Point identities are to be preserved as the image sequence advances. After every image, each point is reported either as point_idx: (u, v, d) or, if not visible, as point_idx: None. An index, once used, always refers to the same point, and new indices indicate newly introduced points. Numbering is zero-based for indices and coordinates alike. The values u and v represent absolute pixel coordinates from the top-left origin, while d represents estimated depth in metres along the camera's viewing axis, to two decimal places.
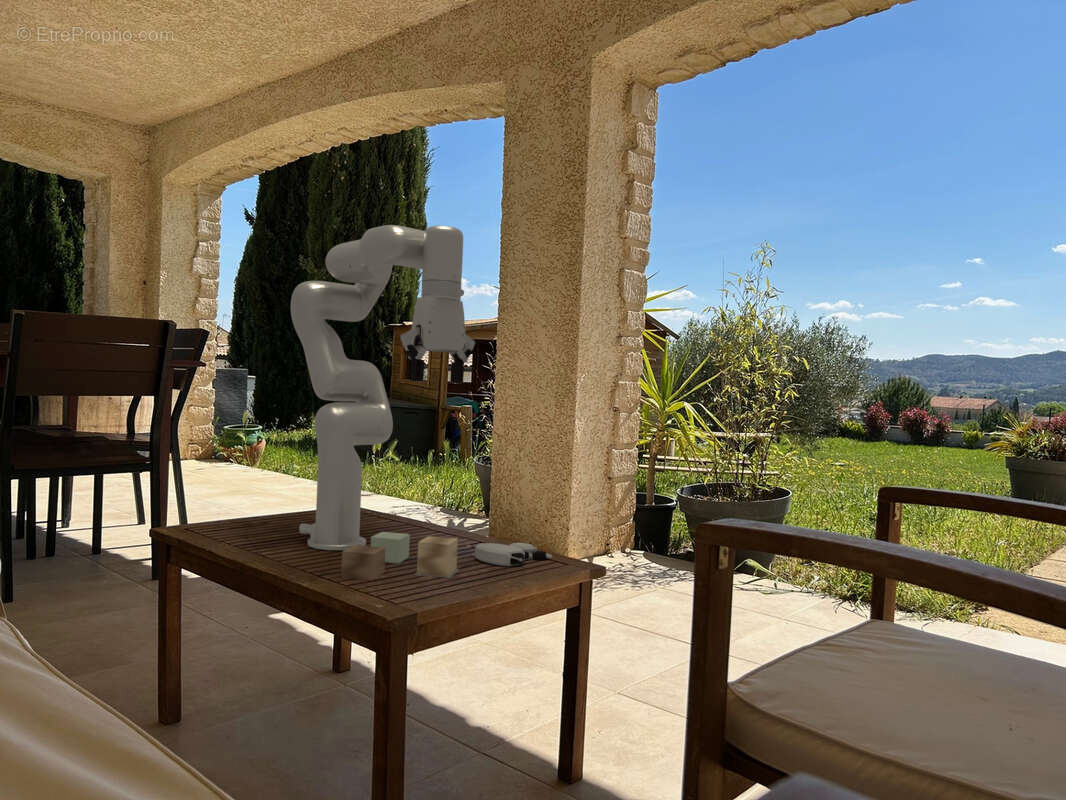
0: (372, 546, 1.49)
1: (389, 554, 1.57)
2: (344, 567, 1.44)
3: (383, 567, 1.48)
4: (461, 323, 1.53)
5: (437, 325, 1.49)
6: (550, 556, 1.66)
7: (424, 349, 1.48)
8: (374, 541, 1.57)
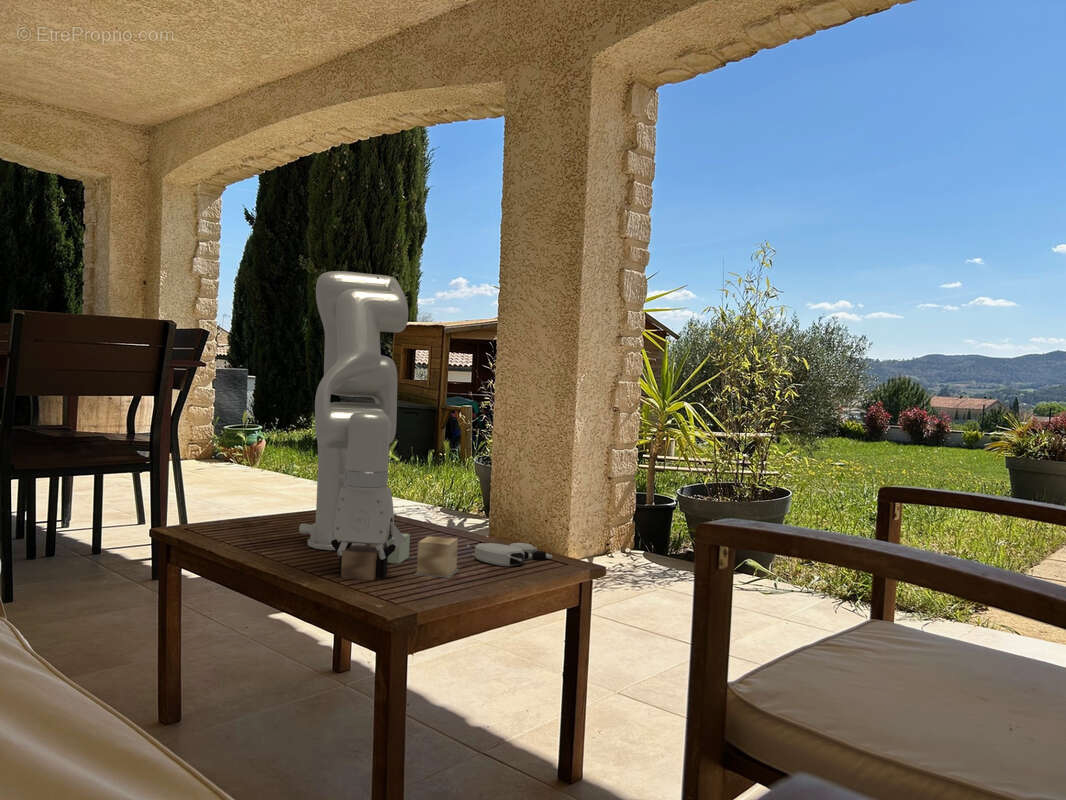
0: (372, 546, 1.49)
1: None
2: (344, 567, 1.44)
3: None
4: None
5: None
6: (550, 556, 1.66)
7: None
8: None
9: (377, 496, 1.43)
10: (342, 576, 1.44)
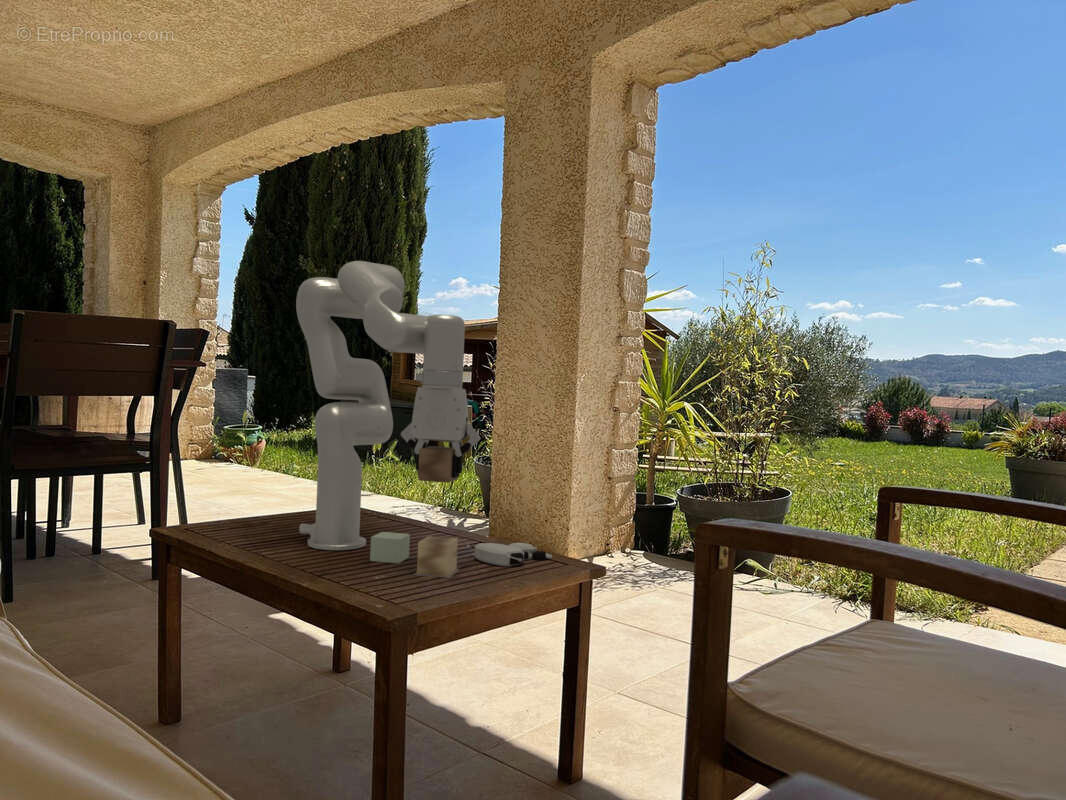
0: (446, 447, 1.53)
1: (389, 554, 1.57)
2: (421, 464, 1.48)
3: None
4: None
5: None
6: (550, 556, 1.66)
7: None
8: (374, 541, 1.57)
9: (453, 394, 1.47)
10: (419, 473, 1.48)
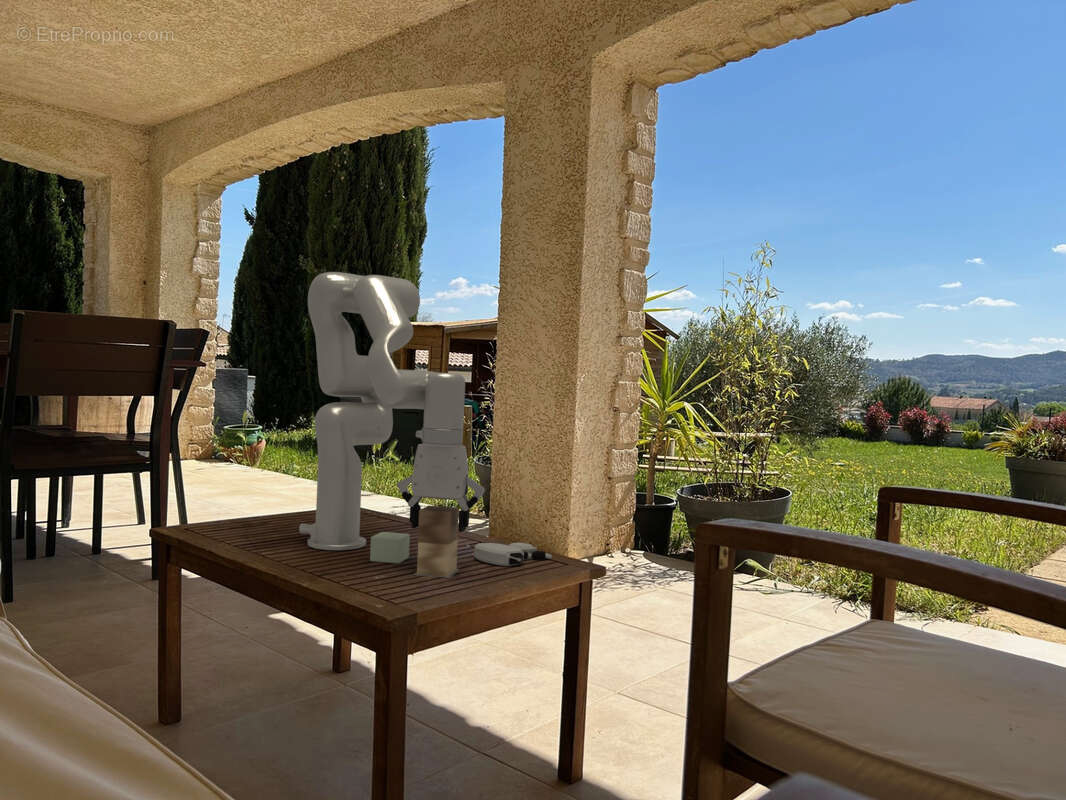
0: None
1: (389, 554, 1.57)
2: (421, 525, 1.48)
3: (457, 526, 1.53)
4: None
5: None
6: (549, 556, 1.66)
7: None
8: (374, 541, 1.57)
9: (454, 453, 1.48)
10: (419, 534, 1.49)
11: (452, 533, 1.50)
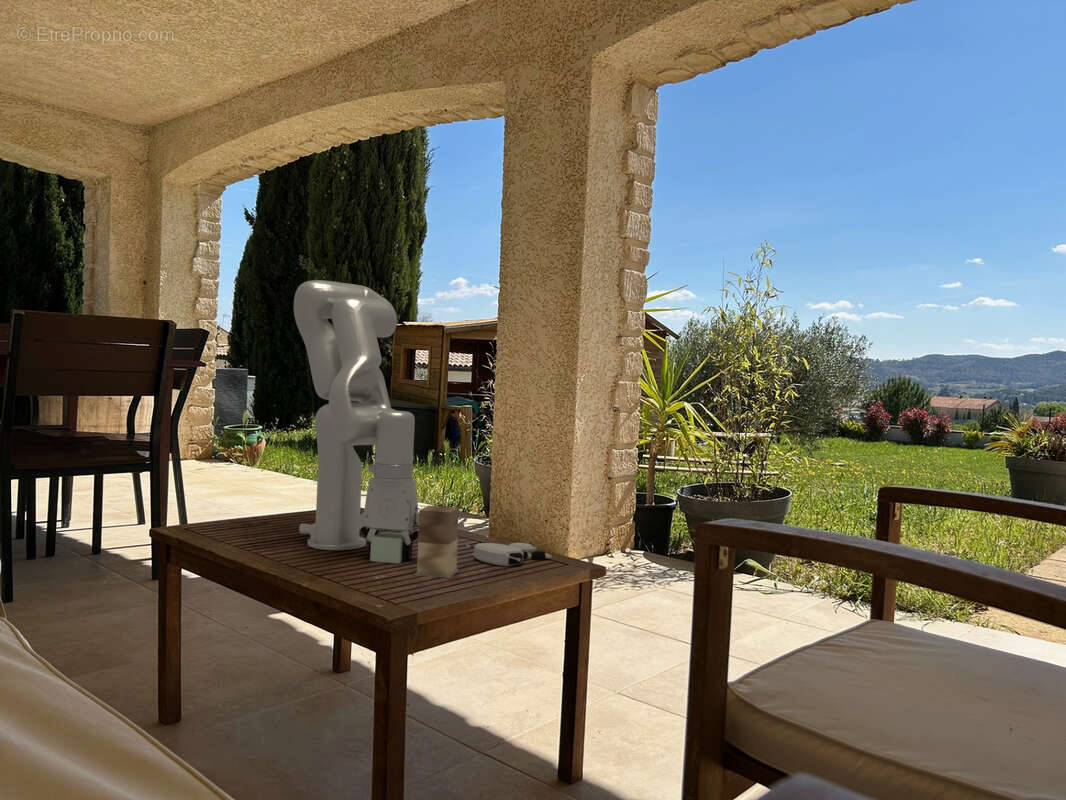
0: None
1: (389, 554, 1.57)
2: (421, 525, 1.48)
3: (457, 526, 1.53)
4: None
5: None
6: (549, 556, 1.66)
7: None
8: (375, 541, 1.57)
9: (403, 487, 1.57)
10: (419, 534, 1.49)
11: (452, 533, 1.50)
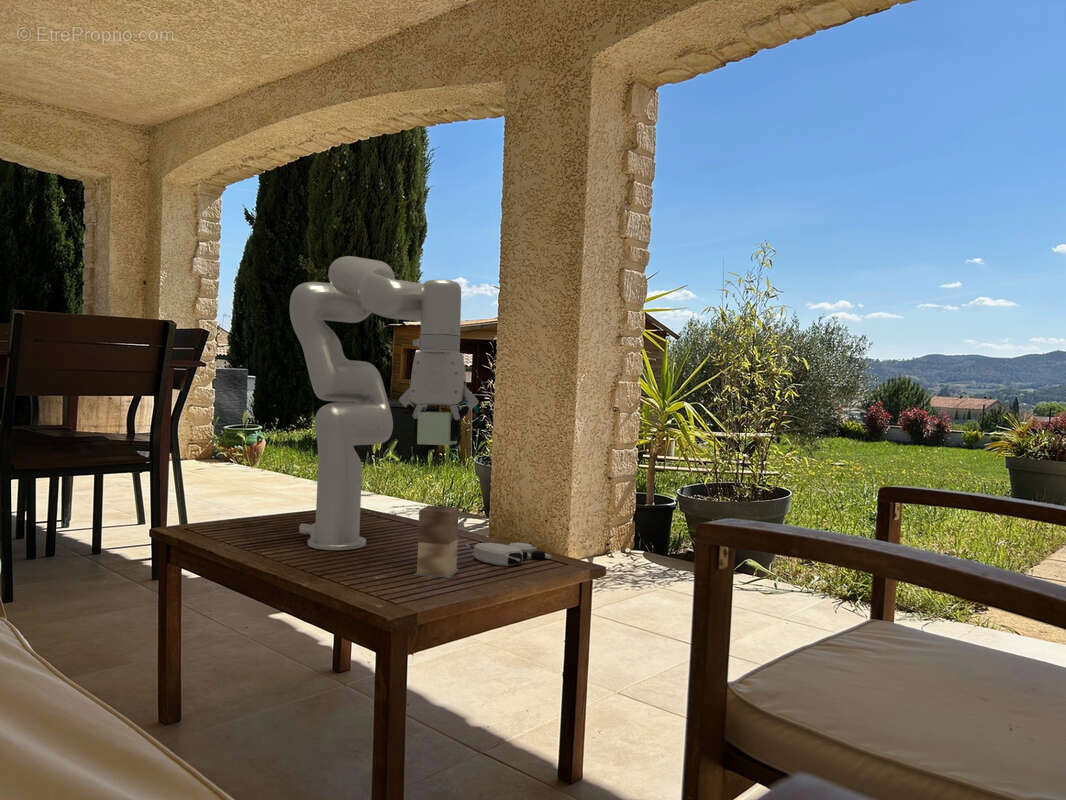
0: None
1: (438, 429, 1.48)
2: (421, 525, 1.48)
3: (457, 526, 1.53)
4: None
5: None
6: (549, 556, 1.66)
7: None
8: (422, 417, 1.49)
9: (451, 358, 1.48)
10: (419, 534, 1.49)
11: (452, 533, 1.50)
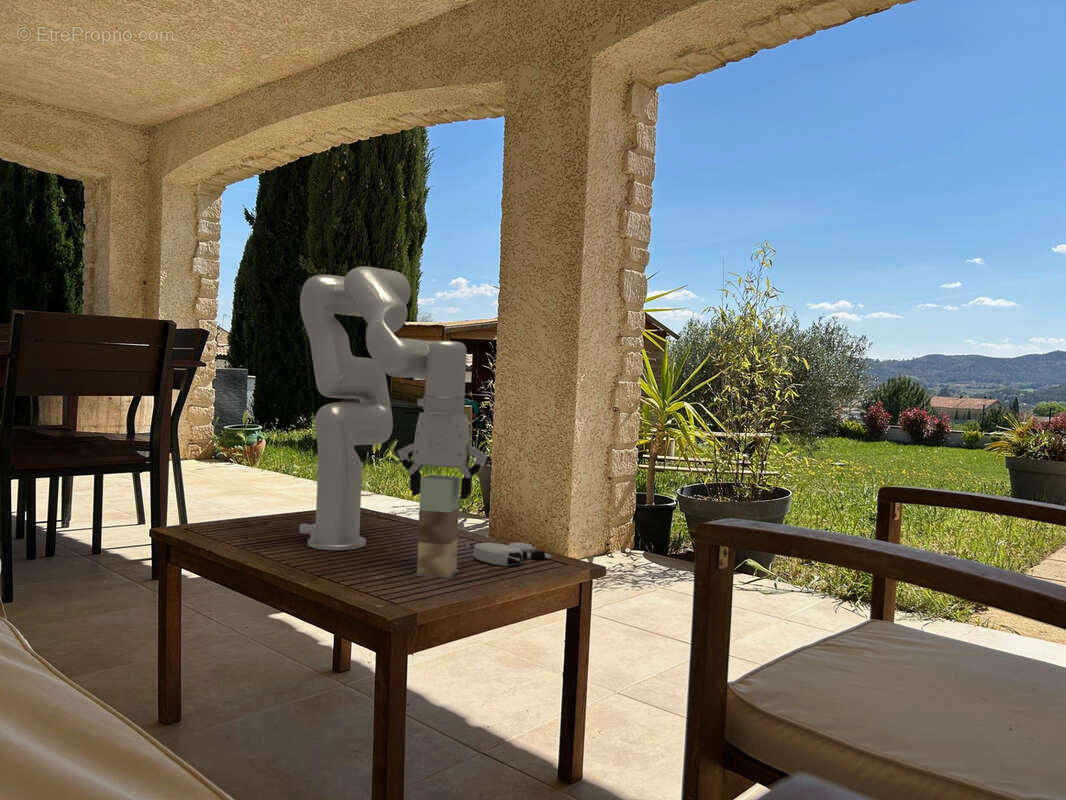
0: None
1: (440, 496, 1.48)
2: (421, 525, 1.48)
3: (457, 526, 1.53)
4: None
5: None
6: (549, 556, 1.66)
7: None
8: (425, 483, 1.48)
9: (455, 420, 1.47)
10: (419, 534, 1.49)
11: (452, 533, 1.50)
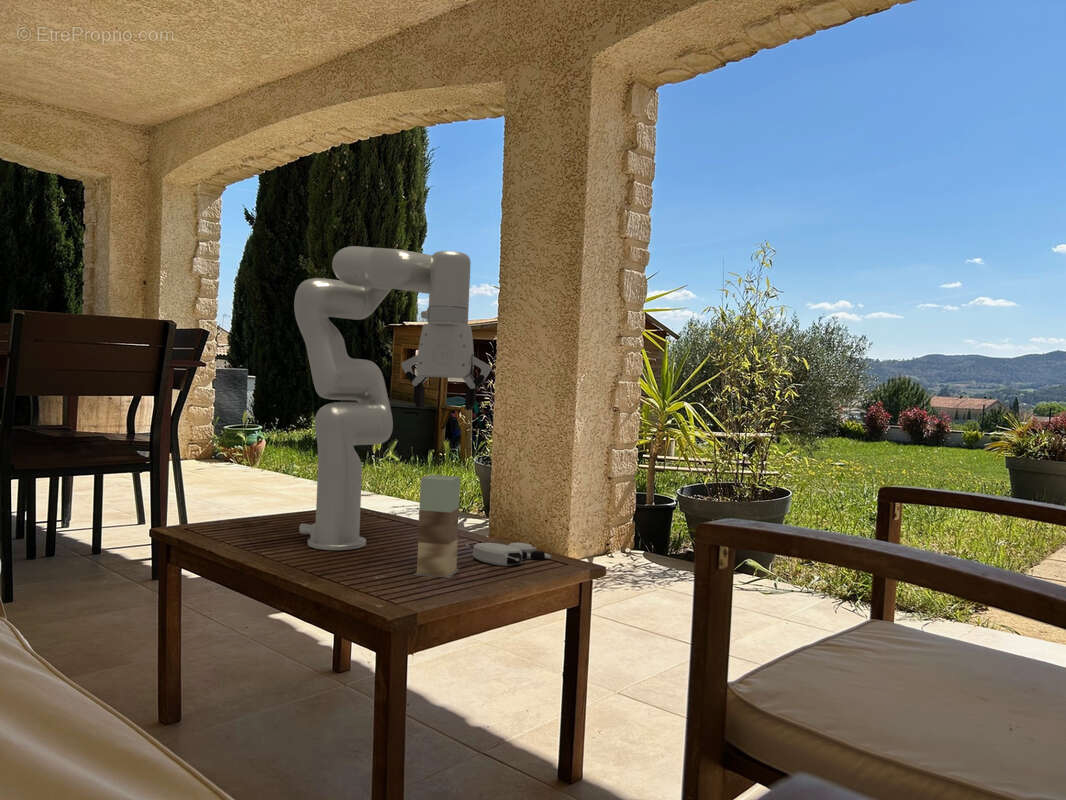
0: None
1: (440, 496, 1.48)
2: (421, 525, 1.48)
3: (457, 526, 1.53)
4: None
5: None
6: (549, 556, 1.66)
7: None
8: (425, 483, 1.48)
9: (459, 330, 1.47)
10: (419, 534, 1.49)
11: (452, 533, 1.50)
